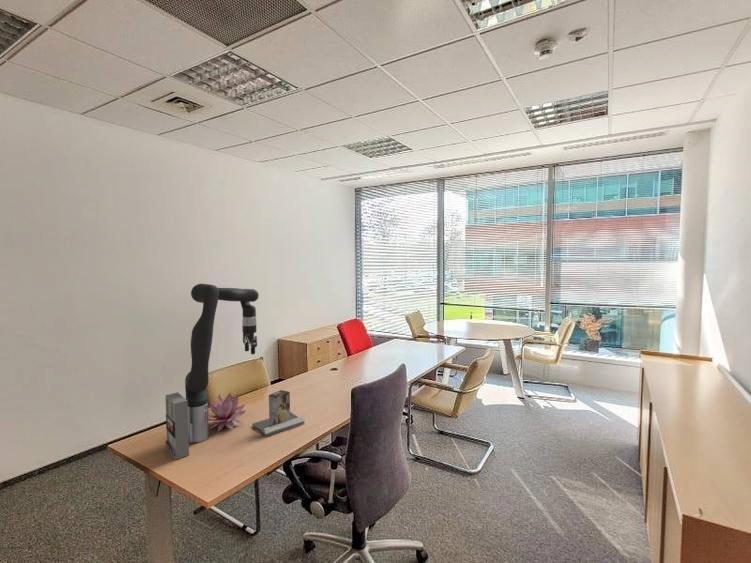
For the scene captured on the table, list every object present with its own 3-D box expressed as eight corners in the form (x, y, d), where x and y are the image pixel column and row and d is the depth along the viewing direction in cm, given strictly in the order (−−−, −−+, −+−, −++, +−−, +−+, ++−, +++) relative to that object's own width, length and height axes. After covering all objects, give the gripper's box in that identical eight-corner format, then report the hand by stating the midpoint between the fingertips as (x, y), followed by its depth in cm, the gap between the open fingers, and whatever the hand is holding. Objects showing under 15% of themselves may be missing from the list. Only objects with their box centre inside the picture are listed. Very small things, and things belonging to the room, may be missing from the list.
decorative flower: (254, 419, 198) (254, 392, 197) (228, 438, 177) (228, 407, 177) (221, 415, 204) (221, 388, 203) (192, 432, 183) (191, 402, 183)
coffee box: (281, 418, 196) (281, 389, 195) (290, 421, 193) (290, 391, 192) (268, 425, 188) (268, 394, 187) (278, 428, 185) (277, 397, 184)
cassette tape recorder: (165, 448, 168) (163, 395, 166) (179, 444, 172) (177, 392, 170) (174, 460, 158) (172, 404, 156) (189, 455, 162) (187, 400, 161)
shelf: (265, 437, 179) (265, 429, 179) (252, 426, 190) (252, 418, 190) (304, 423, 194) (304, 416, 193) (290, 414, 205) (290, 407, 205)
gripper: (261, 325, 203) (261, 354, 204) (250, 321, 214) (251, 349, 215) (247, 326, 198) (248, 356, 199) (238, 323, 209) (238, 351, 210)
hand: (249, 352), depth 207 cm, fingers open, 8 cm apart
